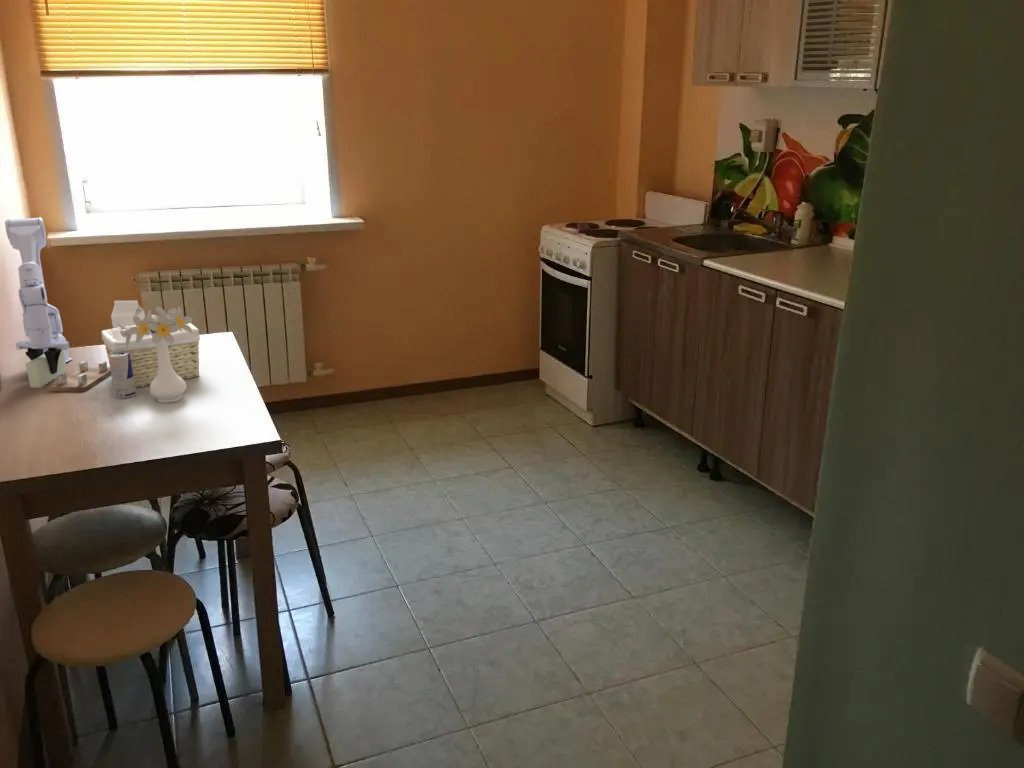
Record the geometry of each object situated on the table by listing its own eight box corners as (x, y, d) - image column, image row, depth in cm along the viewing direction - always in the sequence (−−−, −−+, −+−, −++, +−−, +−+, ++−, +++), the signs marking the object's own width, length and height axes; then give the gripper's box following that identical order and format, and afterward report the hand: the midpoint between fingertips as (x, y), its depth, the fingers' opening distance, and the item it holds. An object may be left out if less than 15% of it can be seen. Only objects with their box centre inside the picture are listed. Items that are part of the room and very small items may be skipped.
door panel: (57, 371, 256) (53, 349, 253) (67, 371, 256) (63, 349, 253) (30, 387, 243) (25, 363, 240) (40, 387, 242) (36, 363, 240)
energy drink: (140, 392, 238) (133, 351, 234) (130, 399, 233) (123, 357, 229) (121, 392, 238) (114, 350, 234) (111, 398, 233) (104, 356, 229)
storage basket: (191, 363, 263) (184, 316, 258) (207, 377, 250) (200, 328, 245) (107, 378, 250) (98, 329, 245) (119, 393, 237) (110, 342, 232)
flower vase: (125, 400, 232) (111, 310, 224) (195, 386, 242) (183, 300, 234) (136, 414, 222) (121, 321, 214) (209, 400, 232) (197, 310, 223)
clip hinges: (84, 368, 254) (83, 360, 253) (107, 369, 254) (106, 361, 253) (58, 384, 241) (57, 376, 240) (82, 385, 240) (81, 376, 240)
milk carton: (142, 364, 262) (132, 303, 255) (118, 364, 262) (108, 303, 256) (151, 357, 268) (142, 297, 262) (128, 357, 269) (119, 298, 262)
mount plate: (83, 370, 256) (83, 366, 256) (116, 370, 256) (115, 367, 255) (50, 391, 239) (49, 387, 239) (85, 391, 239) (84, 387, 238)
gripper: (5, 331, 240) (15, 377, 245) (56, 331, 240) (65, 377, 244) (20, 324, 247) (29, 369, 252) (69, 324, 246) (78, 369, 251)
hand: (48, 372), depth 248 cm, fingers closed on door panel, 3 cm apart
